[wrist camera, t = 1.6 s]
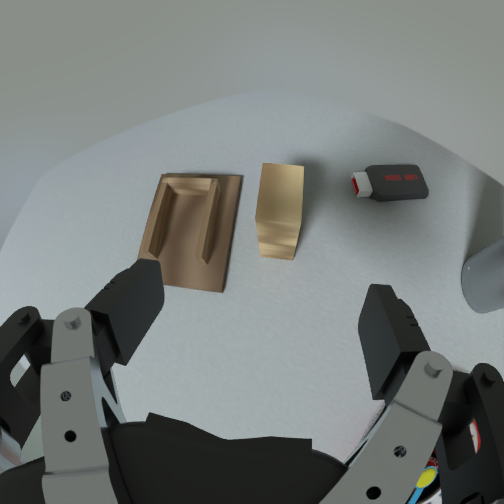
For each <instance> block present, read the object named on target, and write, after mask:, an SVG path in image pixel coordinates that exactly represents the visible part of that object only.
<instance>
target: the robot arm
mask: <svg viewBox="0 0 504 504" xmlns="http://www.w3.org/2000/svg"><path fill="white" fill-rule="evenodd" d="M462 289H463V293H464V296H465V298H466V301H467V302H468V304H469V306H470V307H471V308H472V309H473V310H474V311H476V312H478V313H488V312H491V311H495V310H498V309H502V308H504V236H503V237H501V238H500V239H498V240H497V241H495V242H493V243H492V244H490V245H489V246H487V247H485V248H484V249H482V250H480V251H479V252H477V253H476V254H474V255H472V256H471V257H469V258H468V259H467V260H466V262H465V264H464V266H463V269H462ZM163 304H164V287H163V280H162V272H161V265H160V262H159V261H158V260H152V259H144V258H140V259H138V260H137V261H136V262H135V263H134V264H133V265H132V266H131V267H130V268H129V269H126V270H124V271H122V272H120V273H118V274H117V275H116V276H115V277H114V278H113V279H112V280H111V281H110V283H108V284H107V285H106V286H105V287H104V289H102V290H101V291H100V292H99V293H98V294H97V295H96V296H95V297H94V298H93V299H92V300H91V301H90V302H89V303H88V304H87V305H86V306H85V307H84V308H71V309H68V310H65V311H63V312H62V313H60V314H59V315H58V316H57V317H56V319H55V320H45V319H41V316H40V314H39V311H38V309H37V308H35V307H32V306H26V307H23V308H20V309H18V310H17V311H15V312H14V313H13V314H12V315H11V316H10V317H9V318H8V319H7V320H6V321H5V322H4V323H3V325H2V326H1V327H0V504H405V503H406V501H407V500H408V498H409V496H410V495H411V493H412V491H413V489H414V488H415V486H416V484H417V482H418V480H419V478H420V476H421V475H422V473H423V471H424V469H425V467H426V464H427V462H428V460H429V458H430V456H431V454H432V452H433V449H434V447H435V448H436V455H437V461H438V469H439V477H440V486H441V498H442V504H504V381H503V379H502V377H501V375H500V373H499V372H498V371H497V369H495V368H494V367H493V366H491V365H489V364H487V363H479V364H477V365H476V366H475V367H474V368H473V370H472V371H471V373H470V374H468V373H463V372H458V371H453V369H452V366H451V364H450V362H449V361H448V360H447V359H446V358H445V357H444V356H442V355H441V354H439V353H437V352H433V351H431V350H430V347H429V345H428V343H427V341H426V339H425V337H424V335H423V332H422V330H421V328H420V326H418V322H417V320H416V318H414V317H415V316H414V314H413V312H412V310H411V308H410V307H409V306H408V305H407V304H406V303H405V302H404V301H403V300H402V299H397V297H396V295H395V293H394V291H393V289H392V287H391V286H390V285H382V284H371V285H370V286H369V289H368V292H367V295H366V298H365V302H364V305H363V308H362V311H361V314H360V317H359V322H358V333H359V337H360V341H361V345H362V350H363V354H364V359H365V363H366V368H367V372H368V377H369V382H370V387H371V393H372V398H373V400H384V401H385V406H384V408H383V409H382V411H381V412H380V414H379V415H378V417H377V418H376V420H375V421H374V423H373V424H372V426H371V427H370V429H369V430H368V432H367V433H366V434H365V436H364V437H363V439H362V440H361V441H360V443H359V444H358V445H357V447H356V448H355V449H354V451H353V452H352V453H351V454H350V455H349V457H348V458H347V459H346V460H345V461H344V462H343V463H342V462H341V461H339V460H337V459H336V458H334V457H332V456H330V455H328V454H326V453H323V452H320V451H318V450H314V449H312V439H302V438H285V437H273V436H269V437H260V438H249V439H234V440H227V439H222V438H220V437H217V436H215V435H213V434H210V433H208V432H206V431H204V430H202V429H199V428H197V427H195V426H193V425H191V424H189V423H187V422H183V421H179V420H175V419H172V418H168V417H164V416H161V415H157V414H154V413H151V412H149V414H148V417H147V419H146V421H145V422H144V421H140V422H127V421H126V419H125V417H124V414H123V411H122V408H121V404H120V400H119V396H118V392H117V388H116V383H115V379H114V374H113V371H112V368H111V367H112V366H113V364H114V362H115V363H118V364H121V365H124V366H126V365H127V364H128V362H129V360H130V359H131V357H132V355H133V354H134V352H135V350H136V349H137V347H138V346H139V344H140V342H141V341H142V339H143V337H144V336H145V334H146V333H147V331H148V330H149V328H150V326H151V325H152V323H153V322H154V320H155V319H156V317H157V315H158V314H159V312H160V311H161V309H162V307H163ZM23 355H25V356H26V358H27V360H28V361H29V363H30V366H29V368H28V369H27V370H26V372H25V373H24V375H23V376H22V377H21V379H20V380H19V382H18V383H17V385H16V386H15V388H14V386H13V385H12V383H11V381H10V374H11V371H12V369H13V368H14V366H15V365H16V364H17V363H18V361H19V360H20V359H21V357H22V356H23ZM40 414H41V428H42V440H43V449H44V456H43V457H41V458H38V459H35V460H33V461H30V462H27V463H26V462H25V460H24V458H23V457H22V456H21V450H22V448H23V446H24V444H25V442H26V440H27V438H28V436H29V434H30V432H31V430H32V429H33V427H34V425H35V423H36V421H37V420H38V418H39V416H40ZM474 420H475V421H476V425H477V428H478V432H479V436H480V440H481V443H480V448H479V450H478V452H477V453H476V451H475V447H474V443H473V439H472V435H471V431H470V427H469V425H470V424H471V423H472V422H473V421H474Z"/></svg>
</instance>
